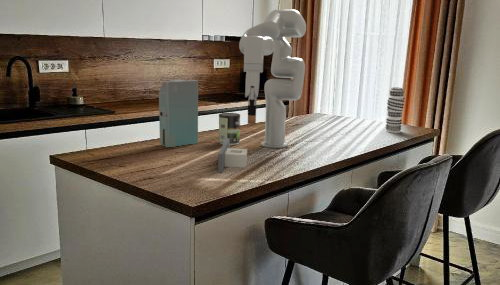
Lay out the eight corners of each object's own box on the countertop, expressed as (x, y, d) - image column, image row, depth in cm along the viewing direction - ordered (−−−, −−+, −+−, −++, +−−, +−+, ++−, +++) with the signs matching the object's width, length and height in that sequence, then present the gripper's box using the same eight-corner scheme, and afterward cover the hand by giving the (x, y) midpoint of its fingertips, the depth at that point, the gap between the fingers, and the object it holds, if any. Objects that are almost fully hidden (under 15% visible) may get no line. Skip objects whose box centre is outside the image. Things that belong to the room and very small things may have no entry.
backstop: (225, 156, 196) (226, 138, 195) (269, 158, 196) (269, 139, 194) (218, 175, 169) (218, 154, 167) (268, 177, 168) (269, 155, 167)
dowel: (247, 122, 186) (248, 98, 184) (255, 123, 186) (256, 98, 184) (247, 124, 182) (248, 98, 181) (255, 124, 182) (256, 99, 180)
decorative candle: (403, 133, 259) (408, 88, 254) (387, 132, 259) (391, 88, 254) (398, 130, 268) (403, 87, 263) (382, 129, 268) (386, 86, 263)
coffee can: (241, 141, 227) (242, 113, 224) (237, 145, 217) (237, 116, 214) (221, 140, 229) (221, 112, 226) (215, 144, 219) (216, 115, 216)
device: (189, 140, 225) (188, 79, 219) (198, 143, 220) (198, 80, 213) (159, 145, 214) (158, 80, 208) (168, 148, 209) (167, 82, 202)
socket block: (227, 160, 187) (227, 148, 186) (246, 160, 187) (247, 148, 186) (224, 166, 178) (224, 154, 177) (245, 167, 177) (245, 154, 176)
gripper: (244, 67, 188) (243, 111, 191) (242, 68, 172) (241, 117, 175) (263, 67, 188) (261, 112, 191) (262, 69, 172) (261, 118, 175)
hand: (251, 114), depth 183 cm, fingers closed on dowel, 3 cm apart
